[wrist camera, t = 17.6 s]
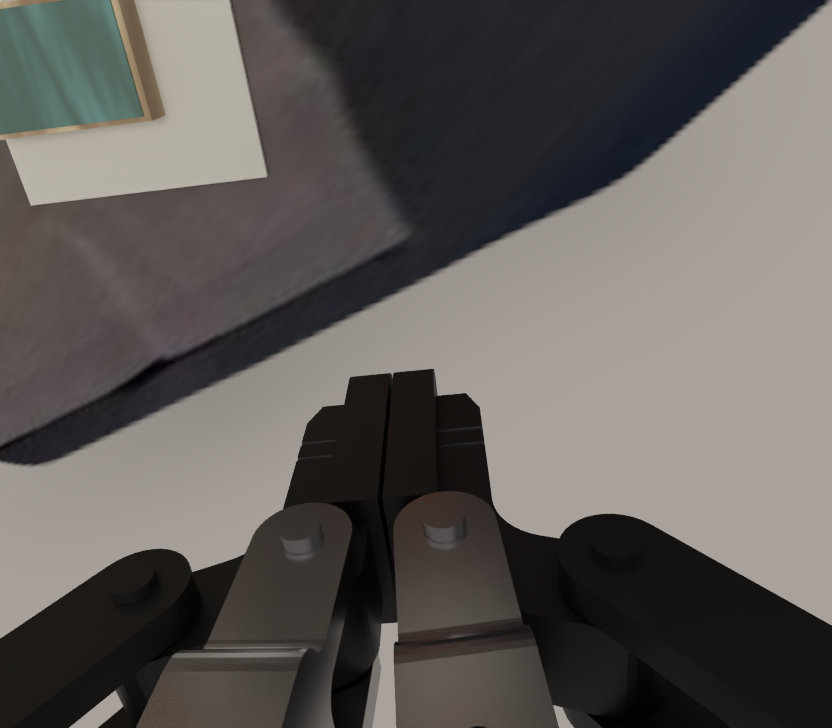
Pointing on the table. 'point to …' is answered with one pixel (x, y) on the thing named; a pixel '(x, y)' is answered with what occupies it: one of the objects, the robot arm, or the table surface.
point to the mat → (161, 118)
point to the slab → (73, 67)
